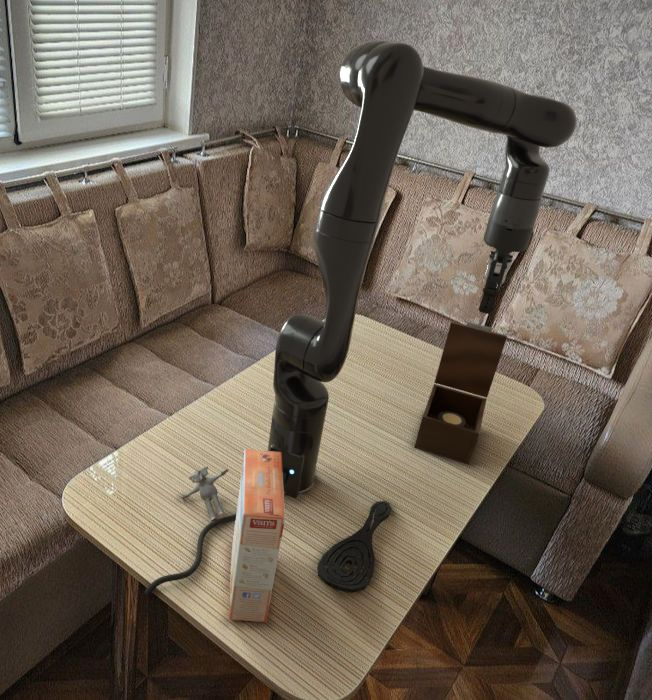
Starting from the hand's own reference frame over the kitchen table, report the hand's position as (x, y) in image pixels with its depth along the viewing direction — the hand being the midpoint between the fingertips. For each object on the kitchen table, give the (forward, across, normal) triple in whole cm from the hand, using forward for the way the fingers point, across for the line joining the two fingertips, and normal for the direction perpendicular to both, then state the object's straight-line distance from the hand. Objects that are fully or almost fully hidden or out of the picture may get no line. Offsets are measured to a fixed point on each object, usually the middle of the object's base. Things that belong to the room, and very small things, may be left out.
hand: (486, 303), depth 124 cm
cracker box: (+32, +54, -22) cm, 66 cm away
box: (+32, -2, 0) cm, 32 cm away
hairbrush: (+32, +38, -8) cm, 51 cm away
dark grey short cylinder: (+31, 0, 0) cm, 31 cm away
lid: (+17, -8, 0) cm, 18 cm away
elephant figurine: (+32, +40, -35) cm, 63 cm away
